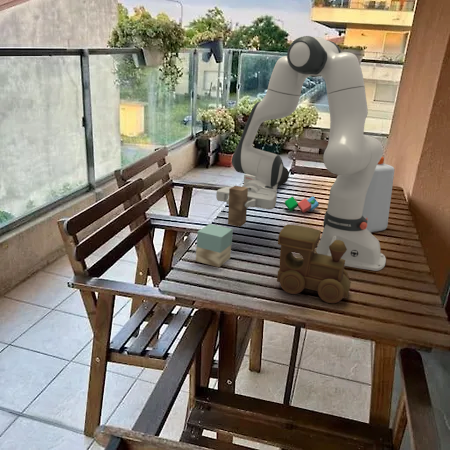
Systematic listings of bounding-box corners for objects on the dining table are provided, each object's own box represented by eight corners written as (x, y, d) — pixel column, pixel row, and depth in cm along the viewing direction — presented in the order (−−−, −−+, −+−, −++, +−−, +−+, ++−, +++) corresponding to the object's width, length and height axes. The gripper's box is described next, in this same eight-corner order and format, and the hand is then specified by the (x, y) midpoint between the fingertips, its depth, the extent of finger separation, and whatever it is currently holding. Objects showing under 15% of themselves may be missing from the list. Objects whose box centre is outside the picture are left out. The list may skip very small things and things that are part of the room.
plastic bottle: (335, 221, 180) (346, 153, 170) (363, 217, 187) (375, 151, 177) (362, 235, 168) (376, 161, 158) (391, 230, 174) (406, 160, 165)
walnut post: (245, 222, 147) (248, 187, 143) (240, 226, 143) (242, 190, 139) (233, 220, 149) (235, 185, 145) (227, 224, 145) (229, 188, 141)
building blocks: (296, 221, 191) (319, 205, 191) (295, 215, 184) (319, 199, 184) (285, 207, 194) (308, 191, 194) (284, 201, 186) (308, 185, 186)
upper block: (231, 244, 139) (232, 229, 137) (220, 252, 132) (221, 237, 130) (208, 238, 142) (209, 223, 140) (196, 246, 135) (197, 231, 133)
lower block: (230, 258, 141) (231, 244, 139) (218, 267, 134) (220, 252, 132) (207, 252, 144) (208, 238, 142) (195, 261, 137) (196, 246, 135)
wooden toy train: (270, 291, 122) (277, 235, 116) (281, 274, 132) (287, 221, 126) (344, 309, 116) (355, 250, 110) (349, 290, 126) (360, 235, 120)
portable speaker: (271, 181, 234) (273, 162, 230) (289, 184, 230) (291, 165, 227) (253, 192, 212) (255, 172, 208) (273, 196, 208) (275, 175, 205)
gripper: (226, 180, 158) (208, 189, 146) (281, 189, 150) (267, 199, 138) (225, 197, 160) (207, 207, 148) (279, 207, 152) (265, 218, 140)
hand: (236, 203), depth 143 cm, fingers closed on walnut post, 4 cm apart
